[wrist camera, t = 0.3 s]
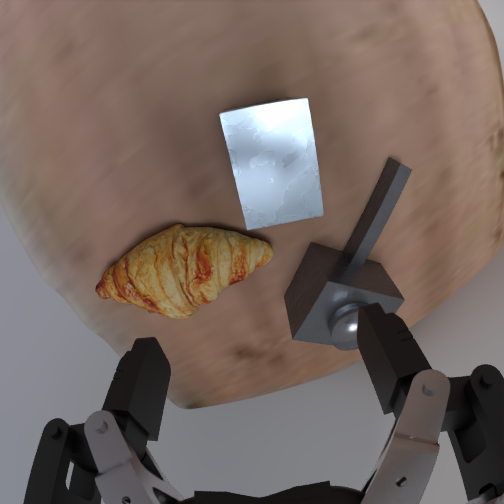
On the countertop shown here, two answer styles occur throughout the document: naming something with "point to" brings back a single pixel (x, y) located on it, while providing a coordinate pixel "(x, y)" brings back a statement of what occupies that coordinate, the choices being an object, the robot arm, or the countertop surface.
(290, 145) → the notched metal block
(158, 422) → the robot arm
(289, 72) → the countertop surface
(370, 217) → the grey knobbed block
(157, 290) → the croissant
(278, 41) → the countertop surface
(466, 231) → the countertop surface
